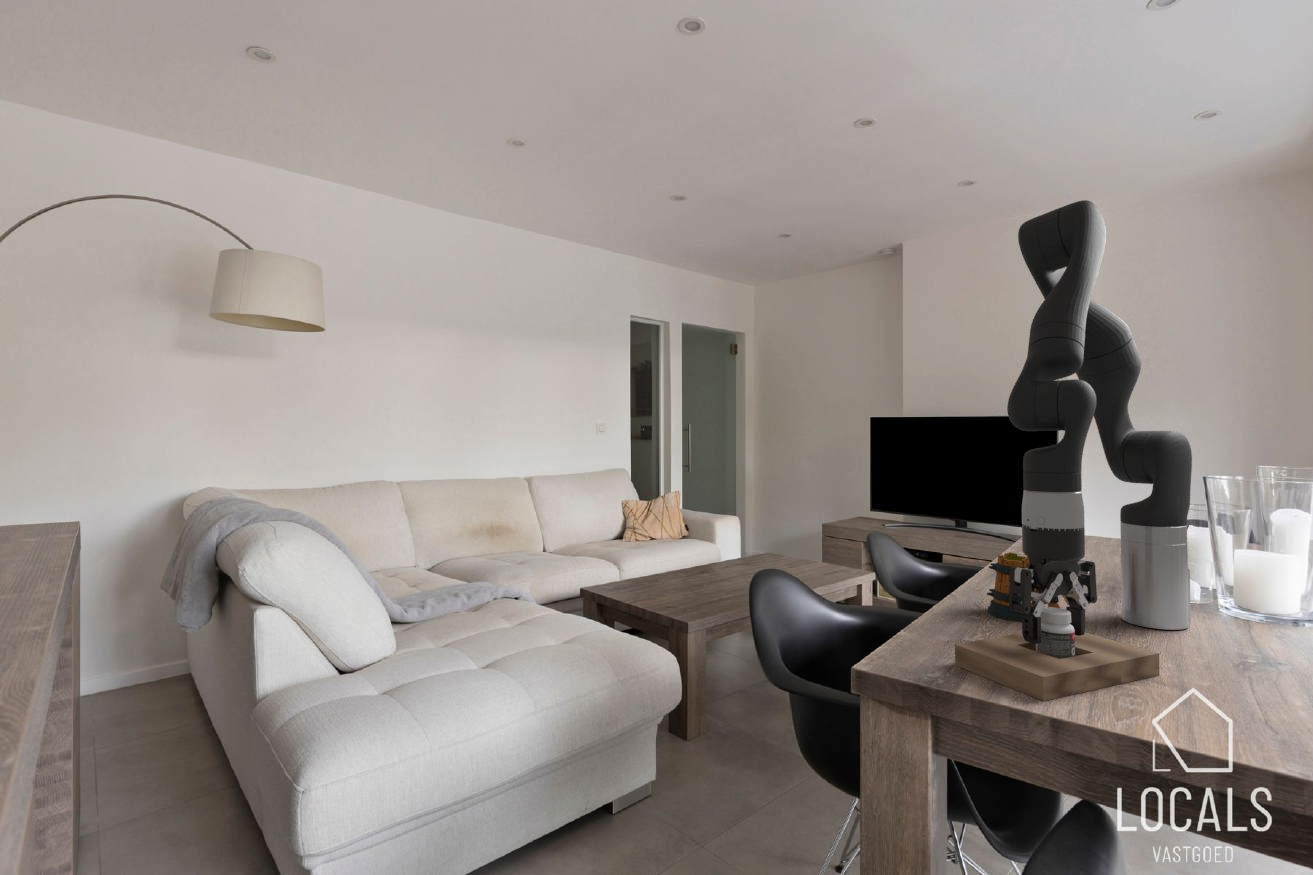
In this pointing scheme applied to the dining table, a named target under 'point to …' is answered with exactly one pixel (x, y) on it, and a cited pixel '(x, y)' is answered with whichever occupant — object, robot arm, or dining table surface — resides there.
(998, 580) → the mug
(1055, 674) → the board
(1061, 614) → the pill bottle
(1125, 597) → the robot arm
